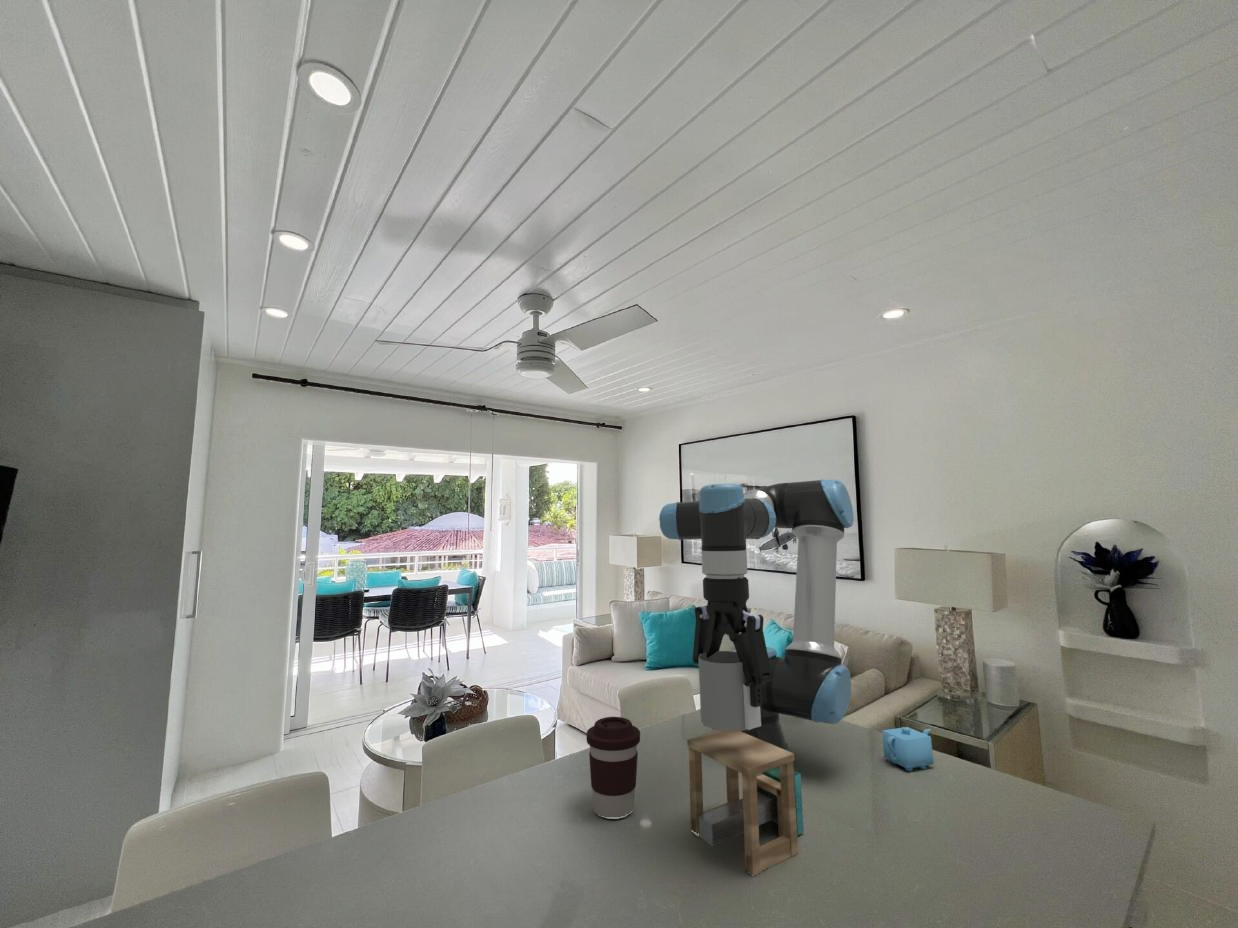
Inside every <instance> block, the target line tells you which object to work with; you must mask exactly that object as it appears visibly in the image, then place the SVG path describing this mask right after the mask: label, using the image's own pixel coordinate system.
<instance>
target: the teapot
mask: <svg viewBox="0 0 1238 928" xmlns="http://www.w3.org/2000/svg"><path fill="white" fill-rule="evenodd" d="M931 731H932V729H931V728H926V729H924V730H923V731H922V732H921V731H918V730H916V729H913V728H911V727H909V726H902V727H898V728H890V729H884V730H882V731H881V735H882V745H883V746H882V747H883V756H884V757H883V758H885V759H887V760H889V761H891V763H892V764H893V765H894V764H895V765H898V766H900V767H903V768H904V770H905V771H907V772H914V769H913V768H920V769H921V770H922V769H923V770H926V769H928V768H927V767H926V766H930V765H934V755H933V744H932V742H933V741H932V737H931V735H929V733H930V732H931Z"/></svg>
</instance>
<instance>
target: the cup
mask: <svg viewBox="0 0 1238 928" xmlns="http://www.w3.org/2000/svg"><path fill="white" fill-rule="evenodd" d="M732 651H733V650H731V651H729V650H719V651H717V652H716V653H715V654H713V655H712V656H710V657H709V658H707V652H706V653H703V654H700V655H699V657H698V661H699V665H698V678H699V679H698V681H699V683H698V685H699V698H700V699H699V701H700V705H699V706H700V722H701V723H702V725H703V726H705V727H707V728H710V729H711V730H714V731H724V732H738V731H743V730H748V729H746V728H745V714H744V695H743V684H744V683H746V682H747V680H746V678H745V675H744V672H743V664H742V662H740V660H739V657H738V655H737V652H732Z"/></svg>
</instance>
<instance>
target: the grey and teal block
mask: <svg viewBox="0 0 1238 928" xmlns="http://www.w3.org/2000/svg"><path fill="white" fill-rule="evenodd" d="M761 774H763V775H765V776H767V777H769V778H771V779H773V780H776V781H778V782H780V766H778V767H776V768H773V769H770V770H767V771H765V772H762V773H761ZM801 777H802V775H801V773H800V772H797V771H795V770H794V786H795V805H796V823H797V836H800V835H802V834H803V833H804V832H805V831H804V830H805V829H804V813H803V811H804V810H803V796H802V795H803V794H802V780H801V779H802V778H801ZM757 803H758V825H759V826H761V825H763V824H765V823H768V822H770V821H772V822H774V823H776V824H777V825H778V809H777V796H776V795H774V794H772V793H770V792H768V791H767V790H765V789H764V790H763V791H760V792H758V793H757ZM741 834H744V816H743V797H742V798H739V800H737V801H735V802H732V803H730V804H727V805H725V806H722V807H720V808H717V809H715V810H712V811H710V812H707V813H705V814H702V815H699V836H698V837H699V838H700V839H702V840H703V841H704V842H706V843H707V844H709V845H711V846H712V847H714V846H716V845H718V844H721V843H723V842H725V841H727V840H730V839H731V838H734V837H736V836H739V835H741Z"/></svg>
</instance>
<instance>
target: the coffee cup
mask: <svg viewBox="0 0 1238 928" xmlns="http://www.w3.org/2000/svg"><path fill="white" fill-rule="evenodd" d="M640 741H641V730H640V729H639V728H638V727H637V726H636V725H633V724H632V721H631V720H630V719H628V718H626V717H621V716H605V717H601V718H599V719H597V720H596V721H595V722H594V725H592V726H591V727H590V728H588V729H587V730H586V742H587V744H588V746H589V753H588V754H589V769H590V770H589V771H590V774H589V775H590V785H591V786H590V787H591V789H592V798H593V799H592V800H593V810H595V811H594V813H595V812H596V813H597V814H599V815H600V816H604V817H621V816H625V815H626V814H629V813H630V812H631V811H632V810H633V811H634V809H635V807H634V806H635V790H636V789H635V788H636V786H637V773H638V770H637V769H638V753H639V752H638V750H637V748H638V745H639V744H640ZM633 811H632V812H633ZM596 813H595V814H596ZM597 814H596V815H597ZM600 816H599V817H600Z"/></svg>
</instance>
